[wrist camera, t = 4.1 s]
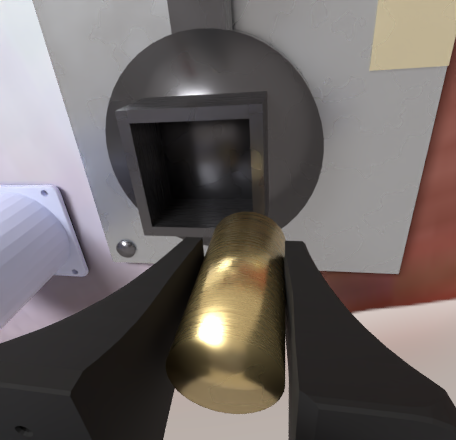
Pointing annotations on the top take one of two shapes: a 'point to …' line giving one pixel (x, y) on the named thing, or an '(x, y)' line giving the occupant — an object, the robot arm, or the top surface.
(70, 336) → the robot arm
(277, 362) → the pin
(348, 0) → the flange plate
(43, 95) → the top surface
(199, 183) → the square socket hub
